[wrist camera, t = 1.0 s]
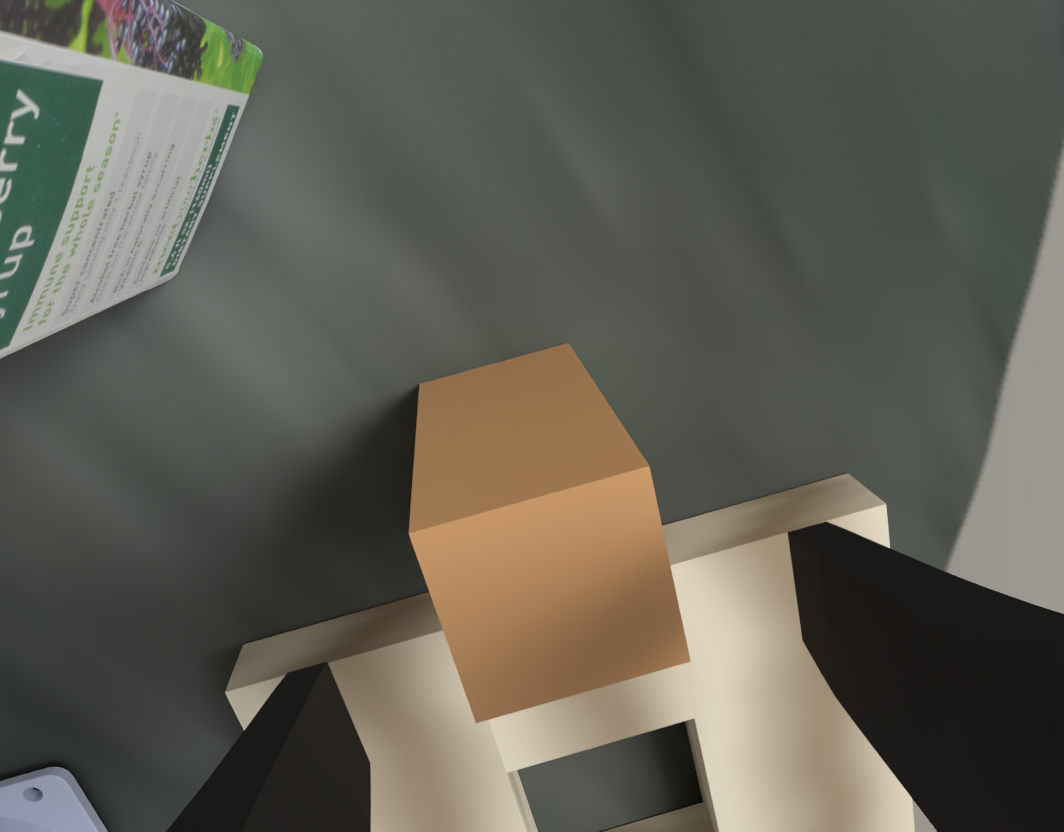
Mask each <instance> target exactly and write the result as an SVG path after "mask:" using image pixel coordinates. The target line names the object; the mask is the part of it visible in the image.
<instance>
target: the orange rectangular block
mask: <svg viewBox="0 0 1064 832" xmlns="http://www.w3.org/2000/svg"><path fill="white" fill-rule="evenodd" d="M409 536H410V539H411V542H412V544H413V547H414V550H415V553H416V556H417V559H418V561H419V564H420V567H421V570H422V573H423V575H424V578H425V581H426V584H427V587H428V590H429V592H430V595H431V598H432V601H433V604H434V607H435V609H436V612H437V615H438V618H439V621H440V623H441V626H442V629H443V632H444V635H445V638H446V640H447V643H448V646H449V649H450V652H451V655H452V657H453V660H454V663H455V666H456V669H457V671H458V674H459V677H460V680H461V683H462V686H463V688H464V691H465V694H466V697H467V700H468V702H469V705H470V708H471V711H472V714H473V717H474V719H475V722H476V723H479V722H483V721H486V720H490V719H493V718H497V717H500V716H504V715H507V714H511V713H514V712H518V711H521V710H525V709H528V708H532V707H535V706H538V705H542V704H545V703H549V702H552V701H556V700H559V699H563V698H566V697H570V696H573V695H577V694H580V693H584V692H587V691H591V690H594V689H598V688H601V687H604V686H608V685H611V684H615V683H618V682H622V681H625V680H629V679H632V678H636V677H639V676H643V675H646V674H650V673H653V672H657V671H660V670H664V669H667V668H670V667H674V666H677V665H681V664H684V663H688V662H691V660H690V656H689V651H688V646H687V641H686V637H685V632H684V627H683V623H682V618H681V613H680V609H679V604H678V599H677V594H676V590H675V585H674V580H673V576H672V571H671V566H670V561H669V557H668V552H667V547H666V543H665V538H664V533H663V529H662V524H661V519H660V514H659V510H658V505H657V500H656V496H655V491H654V486H653V482H652V477H651V472H650V467H649V465H648V463H647V462H646V460H645V459H644V457H643V456H642V454H641V453H640V451H639V450H638V448H637V447H636V445H635V444H634V442H633V441H632V439H631V437H630V436H629V434H628V433H627V431H626V430H625V428H624V427H623V425H622V424H621V422H620V421H619V419H618V418H617V416H616V415H615V413H614V412H613V410H612V409H611V407H610V406H609V404H608V402H607V401H606V399H605V398H604V396H603V395H602V393H601V392H600V390H599V389H598V387H597V386H596V384H595V383H594V381H593V380H592V378H591V377H590V375H589V374H588V372H587V370H586V369H585V367H584V366H583V364H582V363H581V361H580V360H579V358H578V357H577V355H576V354H575V352H574V351H573V349H572V348H571V346H570V345H569V343H566V344H563V345H559V346H556V347H552V348H548V349H545V350H541V351H537V352H534V353H530V354H527V355H523V356H519V357H516V358H512V359H508V360H505V361H501V362H498V363H494V364H490V365H487V366H483V367H479V368H476V369H472V370H469V371H465V372H461V373H458V374H454V375H451V376H447V377H443V378H440V379H436V380H432V381H429V382H425V383H422V384H419V397H418V411H417V425H416V438H415V452H414V466H413V480H412V494H411V508H410V522H409Z"/></svg>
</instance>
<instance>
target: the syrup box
mask: <svg viewBox="0 0 1064 832" xmlns="http://www.w3.org/2000/svg"><path fill="white" fill-rule="evenodd" d="M262 59H263V54H262V52H261V50H260V49H259V48H257V47H256V46H255V45H253V44H251V43H250V42H248V41H246V40H244V39H242V38H240V37H238V36H236V35H235V34H233V33H231V32H229V31H227V30H225V29H224V28H222V27H220V26H218V25H216V24H214V23H213V22H211V21H209V20H207V19H205V18H203V17H202V16H200V15H198V14H196V13H194V12H192V11H191V10H189V9H187V8H185V7H183V6H181V5H180V4H178V3H176V2H174V1H172V0H0V359H1V358H3V357H5V356H7V355H9V354H12V353H14V352H16V351H18V350H20V349H22V348H24V347H26V346H29V345H31V344H33V343H35V342H37V341H39V340H41V339H43V338H45V337H47V336H50V335H52V334H54V333H56V332H58V331H61V330H63V329H65V328H67V327H69V326H71V325H73V324H75V323H77V322H79V321H82V320H84V319H86V318H88V317H90V316H92V315H94V314H97V313H99V312H101V311H103V310H105V309H107V308H109V307H112V306H114V305H116V304H118V303H120V302H122V301H125V300H127V299H129V298H131V297H133V296H136V295H138V294H140V293H141V292H144V291H147V290H150V289H152V288H154V287H156V286H158V285H161V284H163V283H165V282H167V281H169V280H171V279H172V278H173V277H174V276H175V275H176V274H177V273H178V270H179V267H180V265H181V263H182V260H183V258H184V256H185V254H186V252H187V249H188V247H189V245H190V242H191V240H192V238H193V235H194V233H195V230H196V228H197V226H198V224H199V221H200V219H201V217H202V215H203V212H204V210H205V208H206V206H207V203H208V201H209V198H210V196H211V193H212V190H213V188H214V185H215V183H216V180H217V177H218V175H219V172H220V170H221V167H222V165H223V162H224V160H225V157H226V155H227V152H228V150H229V147H230V144H231V142H232V139H233V136H234V134H235V131H236V128H237V126H238V123H239V120H240V118H241V115H242V112H243V110H244V107H245V105H246V102H247V100H248V97H249V94H250V91H251V88H252V85H253V83H254V80H255V77H256V74H257V72H258V70H259V68H260V66H261V63H262Z"/></svg>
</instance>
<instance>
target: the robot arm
mask: <svg viewBox="0 0 1064 832" xmlns="http://www.w3.org/2000/svg"><path fill="white" fill-rule="evenodd" d="M787 533H788V540H789V547H790V554H791V561H792V569H793V576H794V583H795V590H796V598H797V605H798V612H799V619H800V626H801V634H802V640H803V642H804V644H805V646H806V647H807V649H808V651H809V653H810V655H811V656H812V658H813V660H814V662H815V663H816V665H817V667H818V669H819V670H820V672H821V674H822V676H823V677H824V679H825V681H826V682H827V684H828V686H829V687H830V689H831V691H832V692H833V694H834V696H835V697H836V699H837V700H838V701H839V703H840V704H841V705H842V707H843V708H844V709H845V711H846V712H847V713H848V715H849V716H850V717H851V719H852V720H853V721H854V723H855V724H856V725H857V727H858V728H859V729H860V731H861V732H862V733H863V735H864V736H865V737H866V739H867V740H868V741H869V743H870V744H871V745H872V747H873V748H874V749H875V750H876V752H877V753H878V754H879V756H880V757H881V758H882V760H883V761H884V762H885V763H886V765H887V766H888V767H889V769H890V770H891V771H892V773H893V774H894V775H895V777H896V778H897V779H898V780H899V782H900V783H901V784H902V786H903V787H904V788H905V790H906V791H907V792H908V794H909V795H910V796H911V797H912V799H913V800H914V801H915V802H916V804H917V805H918V807H919V808H920V809H921V810H922V812H923V813H924V814H925V816H926V817H927V818H928V819H929V821H930V822H931V824H932V825H933V826H934V828H935V829H936V830H937V832H1064V614H1062V613H1058V612H1055V611H1052V610H1049V609H1046V608H1042V607H1039V606H1036V605H1033V604H1030V603H1028V602H1025V601H1022V600H1019V599H1016V598H1014V597H1010V596H1008V595H1005V594H1002V593H999V592H997V591H994V590H991V589H988V588H985V587H983V586H980V585H978V584H975V583H972V582H970V581H967V580H964V579H962V578H959V577H957V576H954V575H952V574H949V573H947V572H944V571H942V570H939V569H937V568H935V567H932V566H930V565H927V564H925V563H923V562H920V561H918V560H916V559H913V558H911V557H909V556H906V555H904V554H902V553H899V552H897V551H895V550H892V549H890V548H888V547H886V546H883V545H881V544H879V543H876V542H874V541H872V540H870V539H867V538H865V537H863V536H860V535H858V534H856V533H853V532H851V531H849V530H846V529H844V528H842V527H839V526H837V525H834V524H831V523H829V522H822V523H819V524H815V525H811V526H808V527H804V528H801V529H797V530H794V531H790V532H787ZM33 787H34V788H37V789H39V790H40V791H38V790H35V789H33ZM0 832H108V831H107V829H106V828H105V826H104V825H103V823H102V821H101V820H100V818H99V817H98V815H97V813H96V812H95V810H94V809H93V807H92V805H91V804H90V802H89V801H88V799H87V797H86V796H85V794H84V793H83V791H82V789H81V788H80V786H79V785H78V783H77V781H76V780H75V778H74V777H73V775H72V774H71V773H70V772H69V771H68V770H66V769H64V768H61V767H48V768H44V769H41V770H37V771H34V772H30V773H27V774H23V775H20V776H16V777H13V778H9V779H6V780H2V781H0ZM166 832H371V769H370V761H369V759H368V756H367V754H366V752H365V749H364V747H363V745H362V742H361V740H360V738H359V735H358V733H357V730H356V728H355V726H354V723H353V721H352V719H351V716H350V714H349V712H348V709H347V707H346V705H345V702H344V700H343V697H342V695H341V693H340V690H339V688H338V686H337V683H336V681H335V679H334V676H333V674H332V671H331V669H330V667H329V664H328V662H323V663H320V664H316V665H313V666H309V667H305V668H302V669H298V670H295V671H291V672H288V673H287V674H286V675H285V677H284V678H283V679H282V680H281V681H280V683H279V684H278V685H277V687H276V688H275V689H274V691H273V692H272V693H271V695H270V696H269V697H268V699H267V700H266V701H265V703H264V704H263V706H262V707H261V708H260V710H259V711H258V712H257V714H256V715H255V717H254V718H253V719H252V721H251V722H250V723H249V725H248V726H247V728H246V729H245V730H244V732H243V733H242V734H241V736H240V737H239V739H238V740H237V741H236V743H235V744H234V745H233V747H232V748H231V749H230V751H229V752H228V753H227V755H226V756H225V757H224V759H223V760H222V761H221V763H220V764H219V765H218V767H217V768H216V769H215V771H214V772H213V773H212V775H211V776H210V777H209V779H208V780H207V781H206V783H205V784H204V785H203V786H202V788H201V789H200V790H199V791H198V793H197V794H196V795H195V796H194V798H193V799H192V800H191V801H190V803H189V804H188V805H187V806H186V808H185V809H184V810H183V811H182V812H181V814H180V815H179V816H178V817H177V819H176V820H175V821H174V822H173V824H172V825H171V826H170V827H169V829H168V830H167V831H166Z"/></svg>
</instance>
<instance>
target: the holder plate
mask: <svg viewBox="0 0 1064 832" xmlns="http://www.w3.org/2000/svg"><path fill="white" fill-rule="evenodd" d="M822 522H829V523H831V524H834V525H837V526H839V527H842V528H844V529H846V530H849V531H851V532H853V533H856V534H858V535H860V536H863V537H865V538H867V539H870V540H872V541H874V542H876V543H879V544H881V545H883V546H886V547H888V548H890V542H889V531H888V520H887V508H886V503H884V502H883V501H882V500H881V499H879V498H878V497H877V496H876V495H874V494H873V493H872V492H871V491H869V490H868V489H867V488H866V487H864V486H863V485H862V484H861V483H859V482H858V481H857V480H856V479H854V478H853V477H852V476H851V475H849V474H848V473H847V474H843V475H840V476H836V477H833V478H829V479H825V480H822V481H818V482H815V483H811V484H808V485H804V486H801V487H797V488H794V489H790V490H787V491H783V492H780V493H776V494H773V495H769V496H766V497H762V498H758V499H755V500H751V501H748V502H744V503H741V504H737V505H734V506H730V507H727V508H723V509H720V510H716V511H713V512H709V513H706V514H702V515H699V516H695V517H691V518H688V519H684V520H681V521H677V522H674V523H670V524H667V525H663V526H662V529H663V533H664V538H665V543H666V547H667V552H668V557H669V561H670V566H671V571H672V576H673V580H674V585H675V590H676V594H677V599H678V604H679V609H680V613H681V618H682V623H683V627H684V632H685V637H686V641H687V646H688V651H689V656H690V660H691V662H688V663H684V664H681V665H677V666H674V667H670V668H667V669H664V670H660V671H657V672H653V673H650V674H646V675H643V676H639V677H636V678H632V679H629V680H625V681H622V682H618V683H615V684H611V685H608V686H604V687H601V688H598V689H594V690H591V691H587V692H584V693H580V694H577V695H573V696H570V697H566V698H563V699H559V700H556V701H552V702H549V703H545V704H542V705H538V706H535V707H532V708H528V709H525V710H521V711H518V712H514V713H511V714H507V715H504V716H500V717H497V718H493V719H490V720H486V721H483V722H479V723H476V722H475V719H474V717H473V714H472V711H471V708H470V705H469V702H468V700H467V697H466V694H465V691H464V688H463V686H462V683H461V680H460V677H459V674H458V671H457V669H456V666H455V663H454V660H453V657H452V655H451V652H450V649H449V646H448V643H447V640H446V638H445V635H444V632H443V629H442V626H441V623H440V621H439V618H438V615H437V612H436V609H435V607H434V604H433V601H432V598H431V595H430V592H427V593H423V594H420V595H416V596H413V597H409V598H406V599H402V600H399V601H395V602H392V603H388V604H385V605H381V606H378V607H374V608H371V609H367V610H364V611H360V612H356V613H353V614H349V615H346V616H342V617H339V618H335V619H332V620H328V621H325V622H321V623H318V624H314V625H311V626H307V627H304V628H300V629H297V630H293V631H289V632H286V633H282V634H279V635H275V636H272V637H268V638H265V639H261V640H258V641H254V642H251V643H247V644H244V645H243V646H242V649H241V652H240V654H239V657H238V659H237V662H236V665H235V667H234V670H233V672H232V675H231V678H230V680H229V683H228V685H227V688H226V691H225V694H226V696H227V698H228V700H229V702H230V704H231V706H232V708H233V710H234V712H235V714H236V716H237V718H238V720H239V722H240V724H241V726H242V728H243V730H245V729H246V728H247V726H248V725H249V723H250V722H251V721H252V719H253V718H254V717H255V715H256V714H257V712H258V711H259V710H260V708H261V707H262V706H263V704H264V703H265V701H266V700H267V699H268V697H269V696H270V695H271V693H272V692H273V691H274V689H275V688H276V687H277V685H278V684H279V683H280V681H281V680H282V679H283V678H284V677H285V675H286V674H287V673H288V672H291V671H295V670H298V669H302V668H305V667H309V666H313V665H316V664H320V663H323V662H328V664H329V667H330V669H331V671H332V674H333V676H334V679H335V681H336V683H337V686H338V688H339V690H340V693H341V695H342V697H343V700H344V702H345V705H346V707H347V709H348V712H349V714H350V716H351V719H352V721H353V723H354V726H355V728H356V730H357V733H358V735H359V738H360V740H361V742H362V745H363V747H364V749H365V752H366V754H367V756H368V759H369V761H370V769H371V832H538V830H537V828H536V825H535V822H534V819H533V816H532V813H531V810H530V807H529V804H528V801H527V798H526V795H525V792H524V789H523V786H522V783H521V780H520V777H519V774H518V771H517V770H518V769H522V768H525V767H529V766H532V765H536V764H539V763H542V762H546V761H549V760H553V759H556V758H560V757H563V756H567V755H570V754H573V753H577V752H580V751H584V750H587V749H591V748H594V747H598V746H601V745H604V744H608V743H611V742H615V741H618V740H622V739H625V738H628V737H632V736H635V735H639V734H642V733H646V732H649V731H653V730H656V729H659V728H663V727H666V726H670V725H673V724H677V723H680V722H684V721H685V724H686V728H687V733H688V737H689V742H690V746H691V751H692V755H693V759H694V764H695V768H696V773H697V777H698V782H699V786H700V791H701V795H702V800H703V802H702V803H699V804H695V805H692V806H688V807H685V808H682V809H678V810H675V811H671V812H668V813H665V814H661V815H658V816H654V817H651V818H648V819H644V820H641V821H637V822H634V823H630V824H627V825H624V826H620V827H617V828H613V829H610V830H607V831H603V832H915V828H914V816H913V805H912V797H911V796H910V795H909V794H908V792H907V791H906V790H905V788H904V787H903V786H902V784H901V783H900V782H899V780H898V779H897V778H896V777H895V775H894V774H893V773H892V771H891V770H890V769H889V767H888V766H887V765H886V763H885V762H884V761H883V760H882V758H881V757H880V756H879V754H878V753H877V752H876V750H875V749H874V748H873V747H872V745H871V744H870V743H869V741H868V740H867V739H866V737H865V736H864V735H863V733H862V732H861V731H860V729H859V728H858V727H857V725H856V724H855V723H854V721H853V720H852V719H851V717H850V716H849V715H848V713H847V712H846V711H845V709H844V708H843V707H842V705H841V704H840V703H839V701H838V700H837V699H836V697H835V696H834V694H833V692H832V691H831V689H830V687H829V686H828V684H827V682H826V681H825V679H824V677H823V676H822V674H821V672H820V670H819V669H818V667H817V665H816V663H815V662H814V660H813V658H812V656H811V655H810V653H809V651H808V649H807V647H806V646H805V644H804V642H803V640H802V634H801V626H800V619H799V612H798V605H797V598H796V590H795V583H794V576H793V569H792V561H791V554H790V547H789V540H788V533H787V532H790V531H794V530H797V529H801V528H804V527H808V526H811V525H815V524H819V523H822Z"/></svg>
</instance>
